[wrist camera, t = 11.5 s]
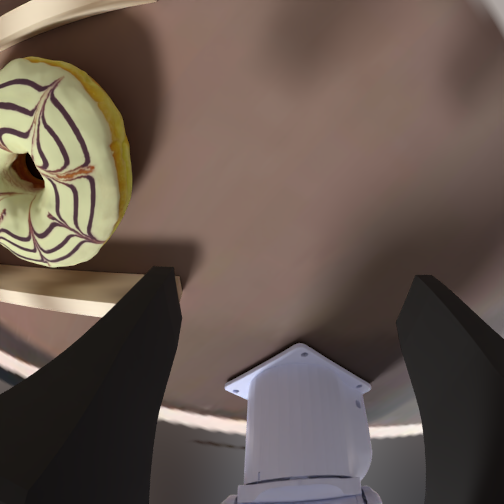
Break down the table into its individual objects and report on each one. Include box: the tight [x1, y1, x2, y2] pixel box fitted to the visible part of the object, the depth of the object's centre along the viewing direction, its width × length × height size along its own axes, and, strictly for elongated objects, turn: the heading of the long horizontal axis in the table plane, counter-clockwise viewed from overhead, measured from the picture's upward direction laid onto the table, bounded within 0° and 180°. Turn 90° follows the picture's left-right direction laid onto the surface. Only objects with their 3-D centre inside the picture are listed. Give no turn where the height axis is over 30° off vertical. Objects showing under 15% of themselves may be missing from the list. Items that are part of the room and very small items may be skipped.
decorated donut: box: [0, 56, 132, 267], centre depth 12 cm, size 10×11×4 cm
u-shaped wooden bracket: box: [0, 0, 182, 317], centre depth 12 cm, size 16×16×2 cm
